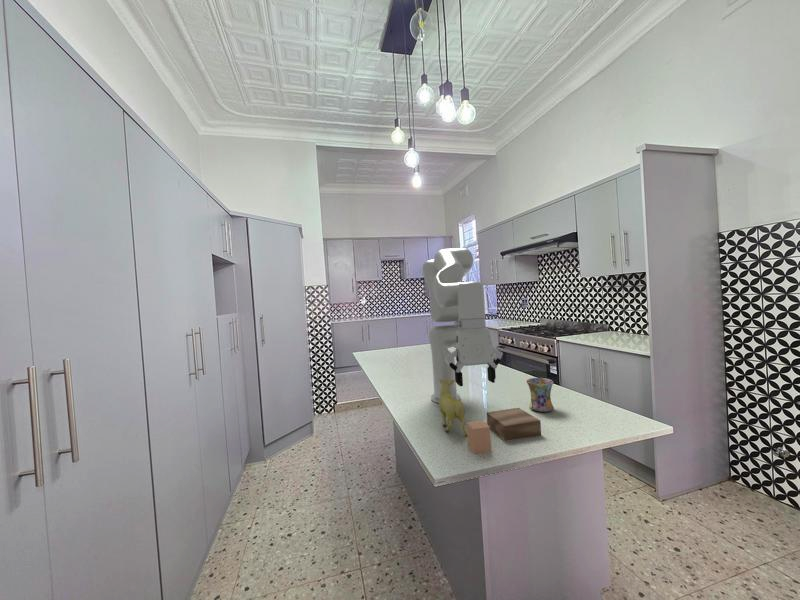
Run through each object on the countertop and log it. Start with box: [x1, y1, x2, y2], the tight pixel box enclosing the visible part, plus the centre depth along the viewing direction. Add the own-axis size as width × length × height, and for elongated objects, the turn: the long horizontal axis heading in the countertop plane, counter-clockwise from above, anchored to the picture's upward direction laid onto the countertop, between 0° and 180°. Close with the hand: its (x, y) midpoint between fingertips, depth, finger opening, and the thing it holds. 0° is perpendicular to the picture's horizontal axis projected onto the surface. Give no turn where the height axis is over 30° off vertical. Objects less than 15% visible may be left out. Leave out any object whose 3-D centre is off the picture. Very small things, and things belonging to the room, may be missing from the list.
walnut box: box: [486, 407, 542, 442], centre depth 105 cm, size 12×12×5 cm
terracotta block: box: [466, 419, 492, 454], centre depth 95 cm, size 5×5×7 cm
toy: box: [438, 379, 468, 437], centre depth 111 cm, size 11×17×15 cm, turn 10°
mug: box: [526, 377, 554, 413], centre depth 123 cm, size 12×9×11 cm
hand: (475, 383), depth 94 cm, fingers open, 9 cm apart
